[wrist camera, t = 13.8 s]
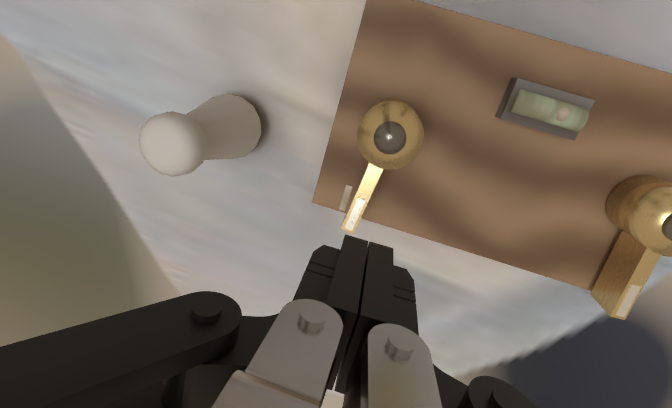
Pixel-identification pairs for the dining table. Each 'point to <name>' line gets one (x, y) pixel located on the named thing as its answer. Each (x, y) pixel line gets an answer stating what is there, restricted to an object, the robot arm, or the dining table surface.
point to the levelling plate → (499, 137)
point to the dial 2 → (635, 240)
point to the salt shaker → (200, 135)
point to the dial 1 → (383, 149)
